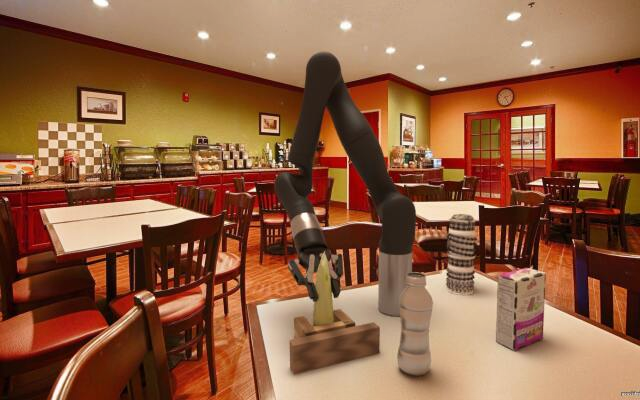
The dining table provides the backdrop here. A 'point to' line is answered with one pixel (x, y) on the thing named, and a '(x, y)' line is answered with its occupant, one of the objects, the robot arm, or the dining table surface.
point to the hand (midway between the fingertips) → (326, 298)
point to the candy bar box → (520, 308)
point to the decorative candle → (461, 254)
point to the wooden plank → (334, 347)
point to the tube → (323, 295)
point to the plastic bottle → (415, 325)
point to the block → (306, 329)
